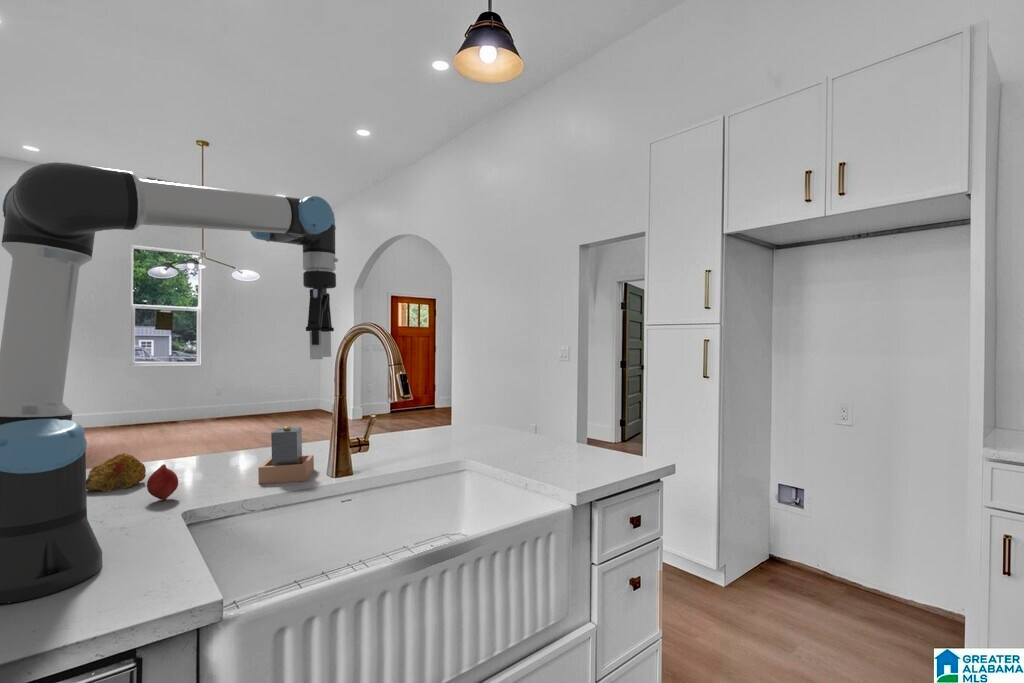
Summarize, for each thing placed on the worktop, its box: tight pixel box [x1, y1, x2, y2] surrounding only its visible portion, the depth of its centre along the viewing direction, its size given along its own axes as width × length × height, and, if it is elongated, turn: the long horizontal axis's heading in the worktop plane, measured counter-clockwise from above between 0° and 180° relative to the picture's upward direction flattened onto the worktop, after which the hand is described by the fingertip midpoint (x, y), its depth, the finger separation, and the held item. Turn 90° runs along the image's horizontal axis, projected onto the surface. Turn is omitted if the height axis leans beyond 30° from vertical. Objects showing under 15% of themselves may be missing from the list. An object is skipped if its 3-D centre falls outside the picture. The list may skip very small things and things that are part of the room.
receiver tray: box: [257, 454, 315, 484], centre depth 133 cm, size 11×11×4 cm
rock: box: [86, 452, 147, 492], centre depth 126 cm, size 11×8×10 cm
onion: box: [146, 463, 179, 501], centre depth 115 cm, size 6×6×8 cm
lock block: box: [270, 425, 303, 466], centre depth 133 cm, size 6×6×12 cm
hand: (321, 358), depth 127 cm, fingers open, 13 cm apart
